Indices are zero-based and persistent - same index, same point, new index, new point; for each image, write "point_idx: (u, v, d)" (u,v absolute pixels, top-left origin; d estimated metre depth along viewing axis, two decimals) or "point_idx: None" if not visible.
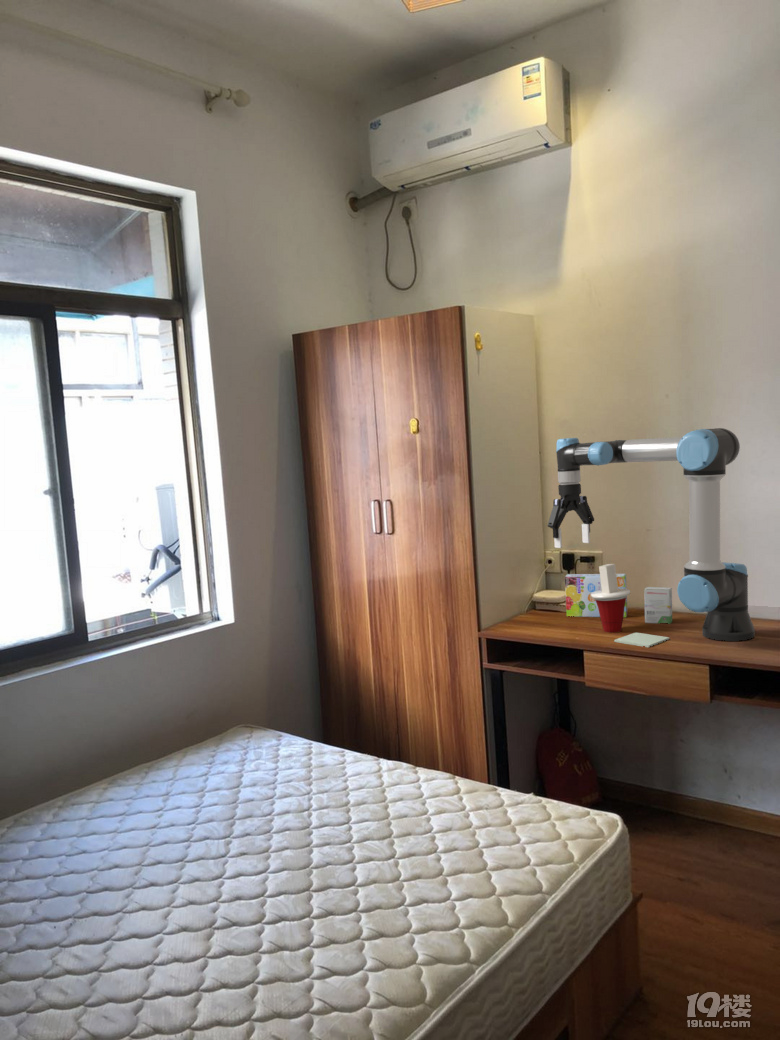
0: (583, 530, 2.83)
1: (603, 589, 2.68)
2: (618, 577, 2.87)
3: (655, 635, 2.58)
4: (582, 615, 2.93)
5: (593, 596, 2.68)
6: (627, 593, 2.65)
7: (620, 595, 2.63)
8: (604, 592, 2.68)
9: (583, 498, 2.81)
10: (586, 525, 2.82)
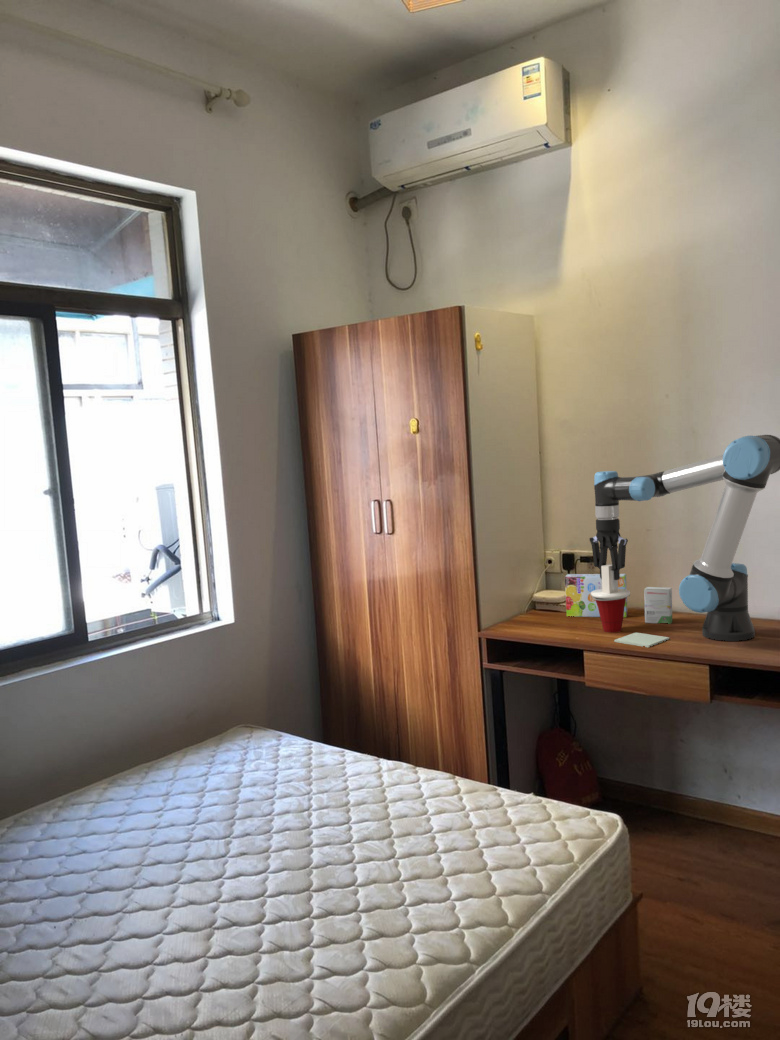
0: None
1: (603, 589, 2.68)
2: None
3: (655, 635, 2.58)
4: (582, 615, 2.93)
5: (593, 595, 2.68)
6: (627, 594, 2.65)
7: (620, 596, 2.63)
8: (604, 592, 2.68)
9: None
10: None
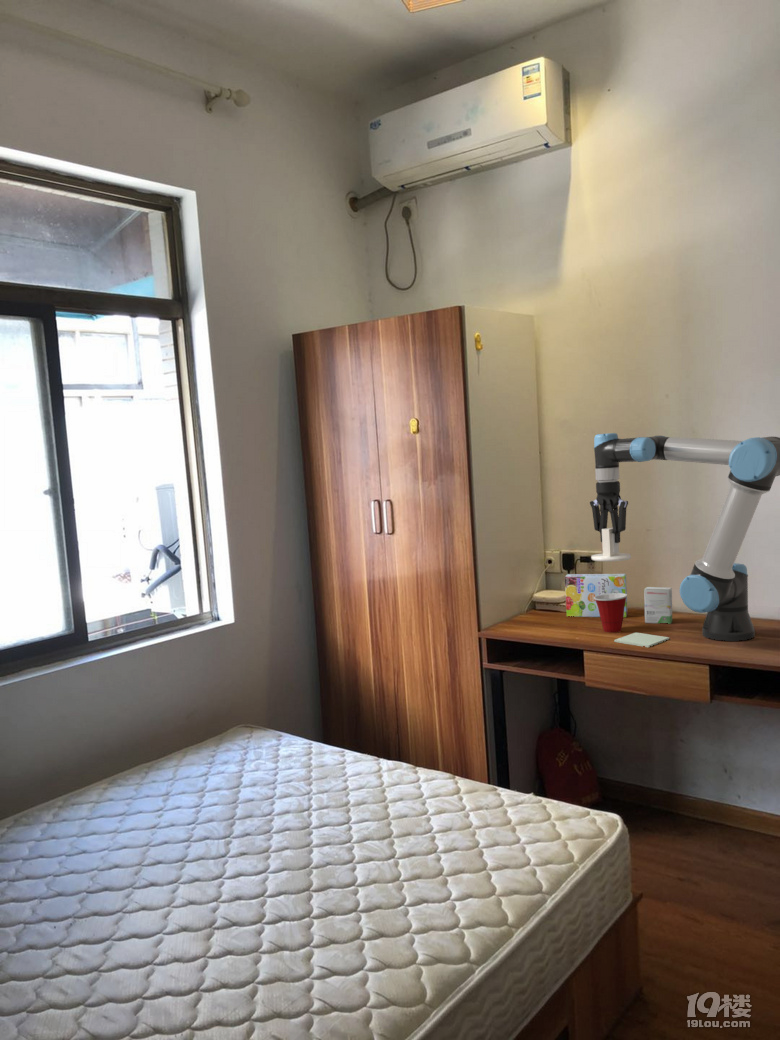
0: None
1: (604, 552, 2.66)
2: (618, 577, 2.87)
3: (655, 635, 2.58)
4: (582, 615, 2.93)
5: (593, 558, 2.66)
6: (628, 557, 2.63)
7: (621, 559, 2.61)
8: (605, 555, 2.66)
9: None
10: None
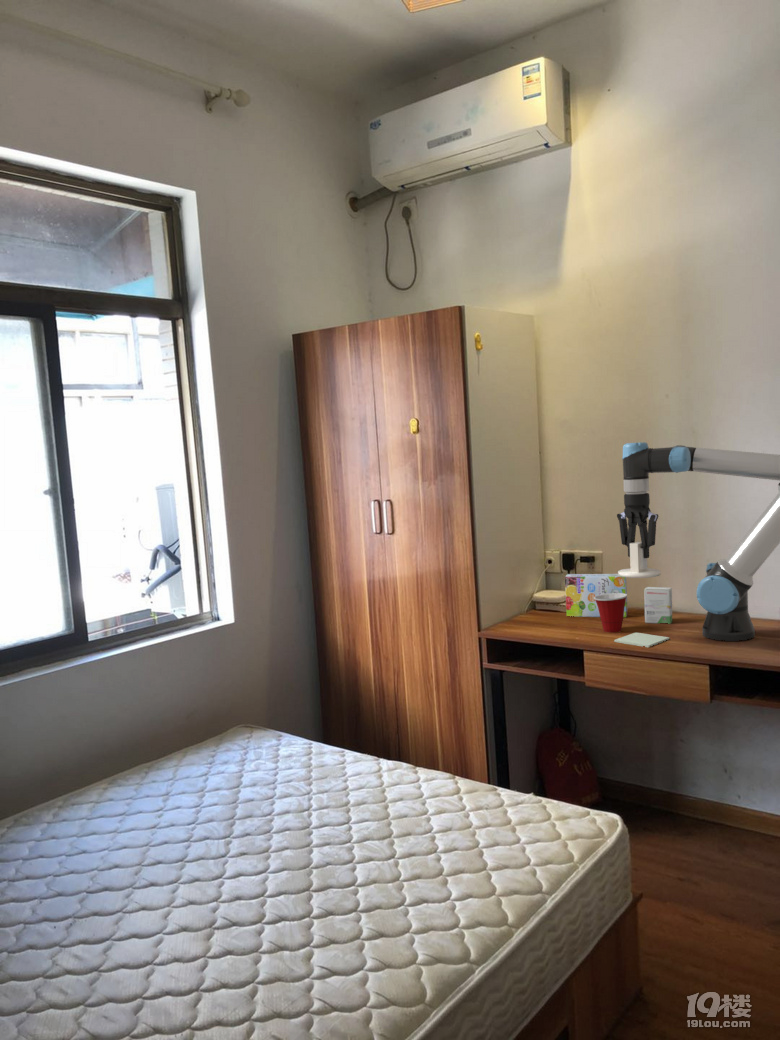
0: None
1: (632, 568, 2.52)
2: (618, 577, 2.87)
3: (655, 635, 2.58)
4: (582, 615, 2.93)
5: (621, 574, 2.52)
6: (657, 574, 2.49)
7: (650, 575, 2.47)
8: (633, 571, 2.52)
9: (651, 516, 2.47)
10: None
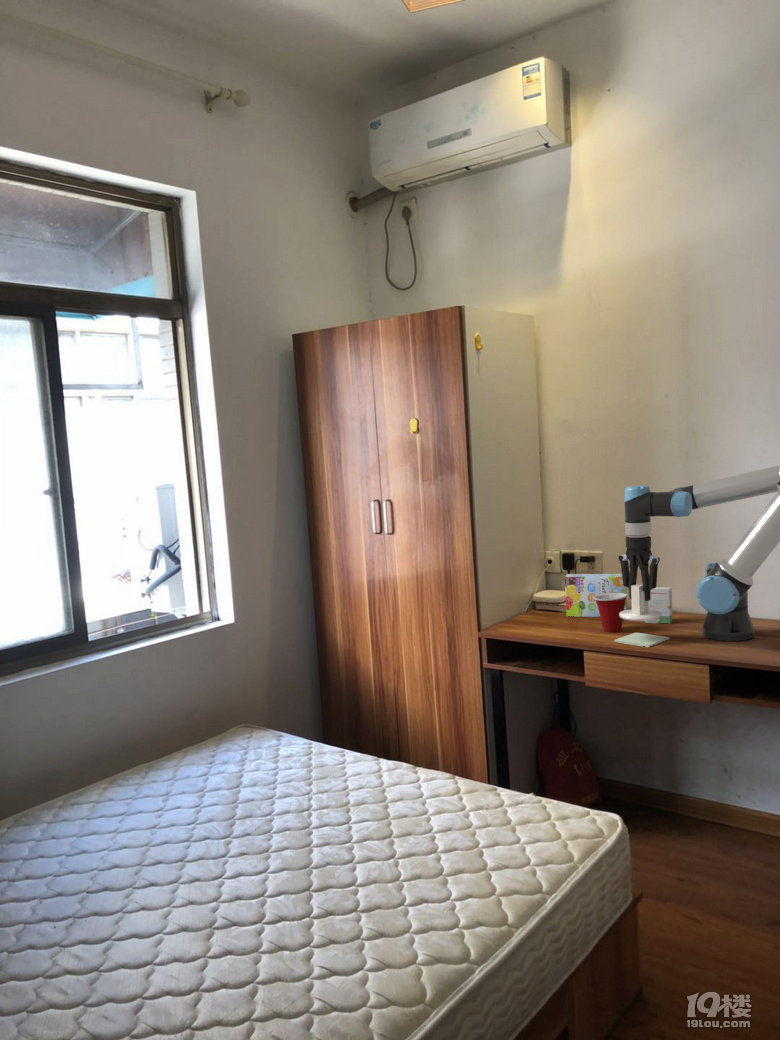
0: None
1: (633, 610, 2.53)
2: (618, 577, 2.87)
3: (655, 635, 2.58)
4: (582, 615, 2.93)
5: (622, 616, 2.53)
6: (659, 617, 2.50)
7: (651, 618, 2.49)
8: (634, 613, 2.53)
9: None
10: None
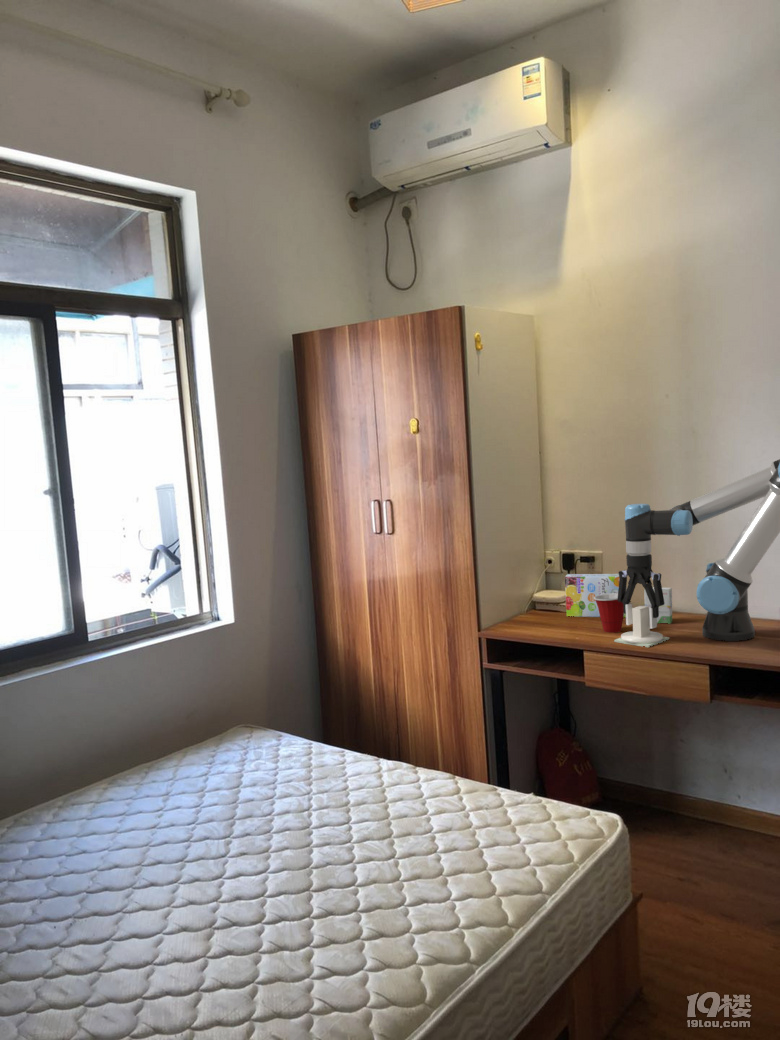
0: None
1: (635, 632, 2.54)
2: (618, 577, 2.87)
3: None
4: (582, 615, 2.93)
5: (624, 639, 2.54)
6: (660, 639, 2.51)
7: (653, 641, 2.49)
8: (635, 635, 2.54)
9: None
10: None
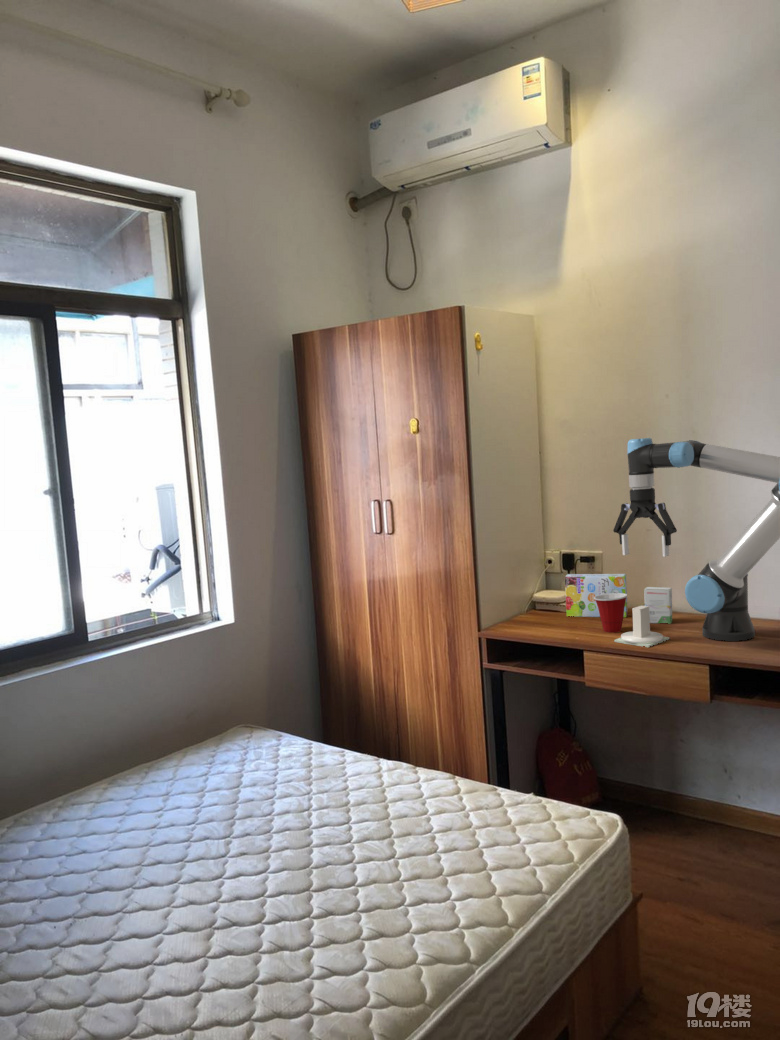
0: None
1: (635, 632, 2.54)
2: (618, 577, 2.87)
3: None
4: (582, 615, 2.93)
5: (624, 639, 2.54)
6: (660, 639, 2.51)
7: (653, 641, 2.49)
8: (635, 635, 2.54)
9: None
10: None
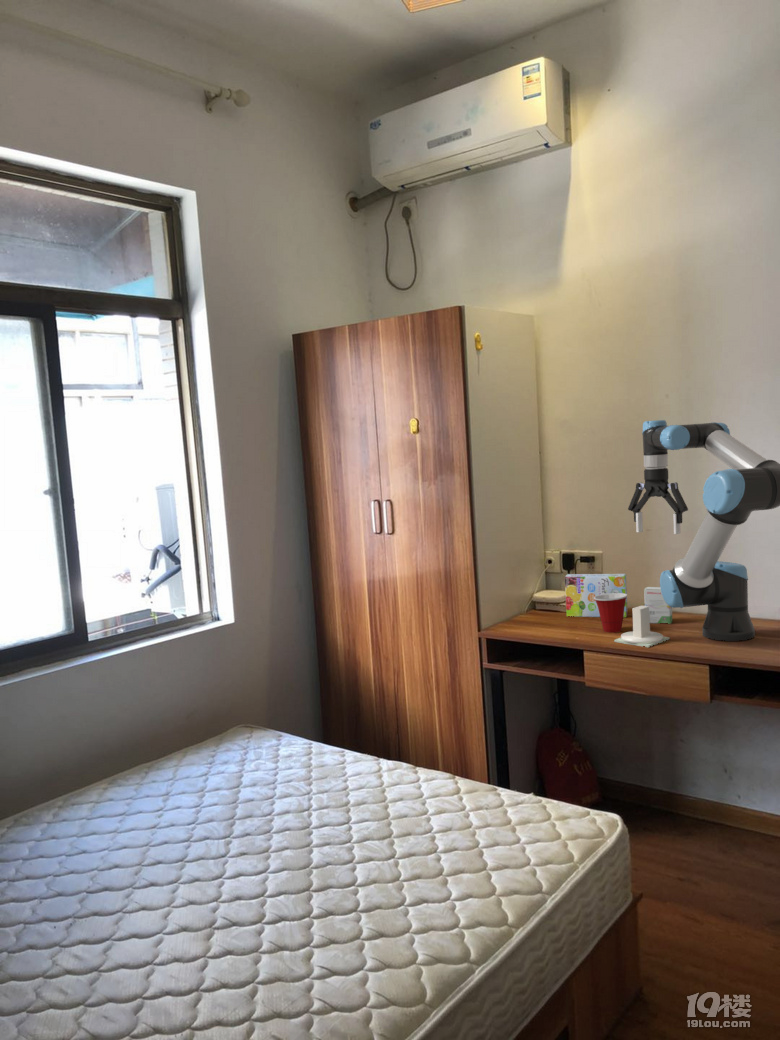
0: None
1: (635, 632, 2.54)
2: (618, 577, 2.87)
3: None
4: (582, 615, 2.93)
5: (624, 639, 2.54)
6: (660, 639, 2.51)
7: (653, 641, 2.49)
8: (635, 635, 2.54)
9: None
10: None
